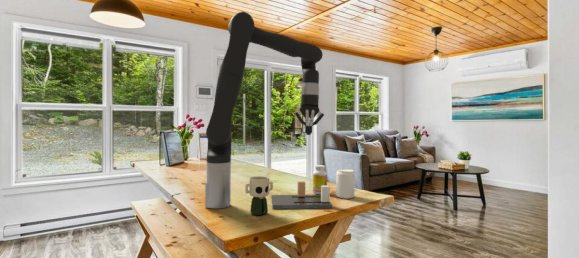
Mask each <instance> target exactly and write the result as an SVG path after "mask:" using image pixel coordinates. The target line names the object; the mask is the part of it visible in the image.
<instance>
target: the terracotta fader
mask: <svg viewBox="0 0 579 258" xmlns="http://www.w3.org/2000/svg"><path fill="white" fill-rule="evenodd" d="M296 195H298V197H305V195H306V181H305V180H298V181H297V193H296Z"/></svg>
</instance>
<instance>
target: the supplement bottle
mask: <svg viewBox="0 0 579 258" xmlns="http://www.w3.org/2000/svg"><path fill="white" fill-rule="evenodd" d="M314 169H315V170H314V171H313V172H312V193H314V195H321V186H328V172H327V171H326V170H325V169H326V165H321V164H316V165H315V166H314Z"/></svg>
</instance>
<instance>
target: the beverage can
mask: <svg viewBox="0 0 579 258" xmlns="http://www.w3.org/2000/svg"><path fill="white" fill-rule="evenodd" d="M355 176H356V174H355V171H354V169H350V168H340V169H337V170H336V176H335V181H336V182H335V183H336V184H335V185H336V188H335V196H336V197H338V198H340V199H342V200H343V199H345V200H348V199H352V198H354V197H355V185H356V183H355V182H356V177H355Z"/></svg>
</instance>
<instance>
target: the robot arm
mask: <svg viewBox="0 0 579 258" xmlns="http://www.w3.org/2000/svg"><path fill="white" fill-rule="evenodd" d="M227 30H228V33H229V41H228V45H227V48H226V51H225V54H224V56H223V59H222V62H221V65H220V68H219V71H218V76H217V80H216V85H215V93H214V94H215V95H214V104H213V109H212V113H211V115H210V119H209V122H208V124H207V127H206V130H205V136H206V139H207V151H206V182H205V185H204V187H205V188H204V191H205V192H204V194H205V195H204V199H205V200H204V201H205V202H204V208H205V209H206V208H209V209H225V208H229V207H230V206H231V202H232V200H231V193H232V191H231V189H232V188H231V183H232V182H231V181H232V178H231V177H232V171H231V168H232V127H231V126H232V120H233V119H232V118H233V112H234V108H235V106H236V103H237V101H238V98H239V96H240V92H241V88H242V85H243V84H242V83H243V79H244V76H245V75H244V73H245V67H246V62H247V61H246V60H247V55H248V54H247V53H248V49H249V46H250V43H251V44H256V45H257V46H258V45H259V46H261V47H264V48H268V49H270V50H273V51H275V52H278V53H280V54H283V55H286V56H288V57H290V58H300V65H301V71H302V82H301V83H302V84H301V91H300V107H299V110H298V111H296V112H295V113H294V115H295V117H296V119H297V120H298V121H299V123H300V124H302V125H303V126H304V130H305V131H304V133H305V134H306V136H311V134H312V133H313V127H314V126H316V125H317V124H318V123H319V122H320V121H321V120H322V118H323V117H324V116H325V114H324V113H322V112H321V111H320V108H319V103H320V86H319V84H320V83H319V82H320V72H319V71H318V70H317V69H316V67H317V65H316V64H317V63H319V62H320V61H321V60H322V59H323V51H322V49H321V48H320V47H319V46H317V45H315V44H313V43H308V42H303V41H299V40H298V39H295V38H292V37H290V36H287V35H284V34H281V33H277V32H273V31H272V32H271V31H268V30H264V29H262V28H259V27H257V26H255V21H254V19H253V17H252V15H251V14H250V13H248V12H246V11H240V12H236V13H235V14H234V15H233V16H232V17H231V19H230V20H229V23H228V27H227ZM301 115H302V117H303V118H304V119H303V118H302V117H301ZM315 117H317V118H316V119H315Z"/></svg>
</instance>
